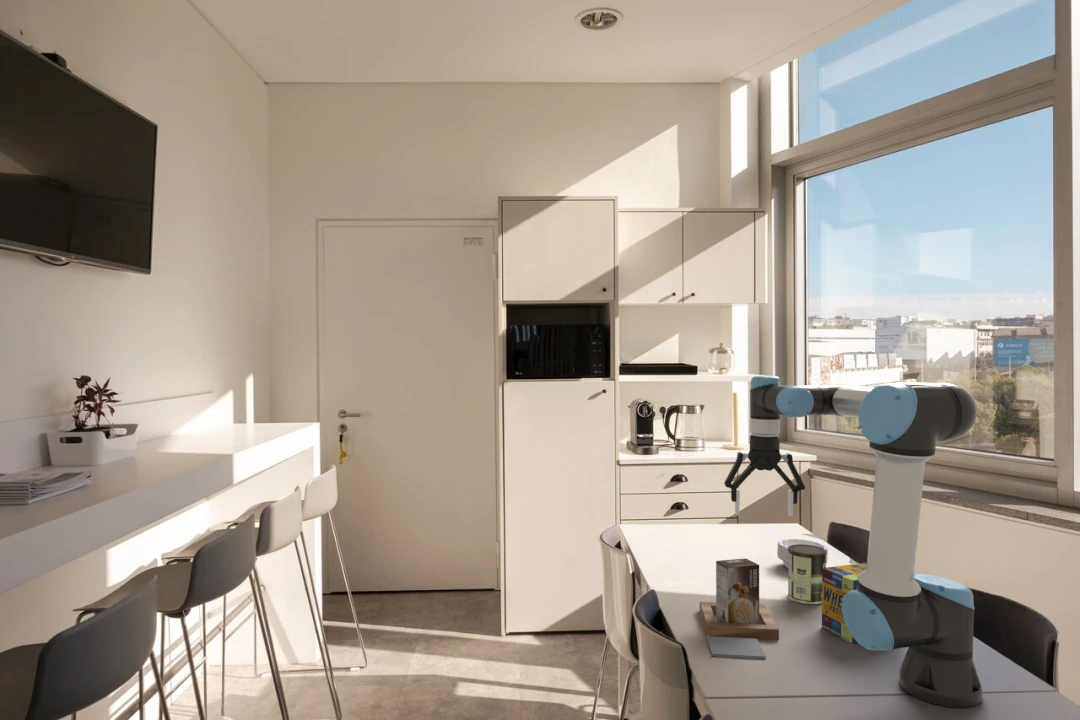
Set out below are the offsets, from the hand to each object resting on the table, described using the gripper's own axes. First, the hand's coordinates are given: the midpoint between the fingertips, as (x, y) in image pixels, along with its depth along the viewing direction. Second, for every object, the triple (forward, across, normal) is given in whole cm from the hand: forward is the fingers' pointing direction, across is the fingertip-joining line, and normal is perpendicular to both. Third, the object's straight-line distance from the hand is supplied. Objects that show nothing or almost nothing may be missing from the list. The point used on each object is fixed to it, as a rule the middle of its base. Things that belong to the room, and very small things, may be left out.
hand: (763, 515), depth 188 cm
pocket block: (+27, +7, +6) cm, 29 cm away
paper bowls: (+27, -20, -45) cm, 56 cm away
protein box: (+27, -23, +6) cm, 36 cm away
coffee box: (+27, +7, +6) cm, 29 cm away
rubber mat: (+27, +10, +22) cm, 36 cm away
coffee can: (+27, -15, -16) cm, 35 cm away
